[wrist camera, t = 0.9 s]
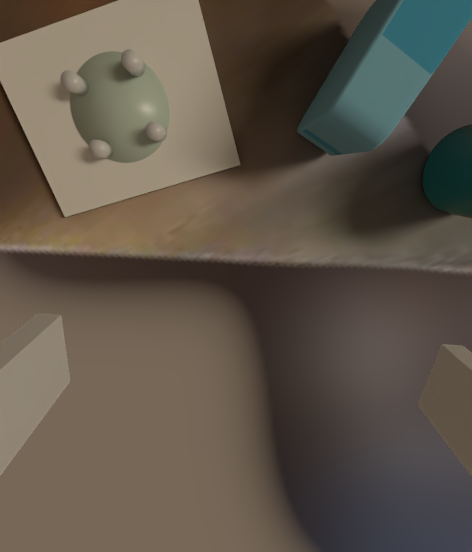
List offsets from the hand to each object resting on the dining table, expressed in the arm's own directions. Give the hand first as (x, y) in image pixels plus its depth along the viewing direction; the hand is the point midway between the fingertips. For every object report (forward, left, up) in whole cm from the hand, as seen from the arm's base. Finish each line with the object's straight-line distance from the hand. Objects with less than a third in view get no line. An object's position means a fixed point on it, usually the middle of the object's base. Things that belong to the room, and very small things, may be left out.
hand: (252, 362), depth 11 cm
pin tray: (-14, -8, -25) cm, 30 cm away
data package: (-10, +14, -26) cm, 31 cm away
